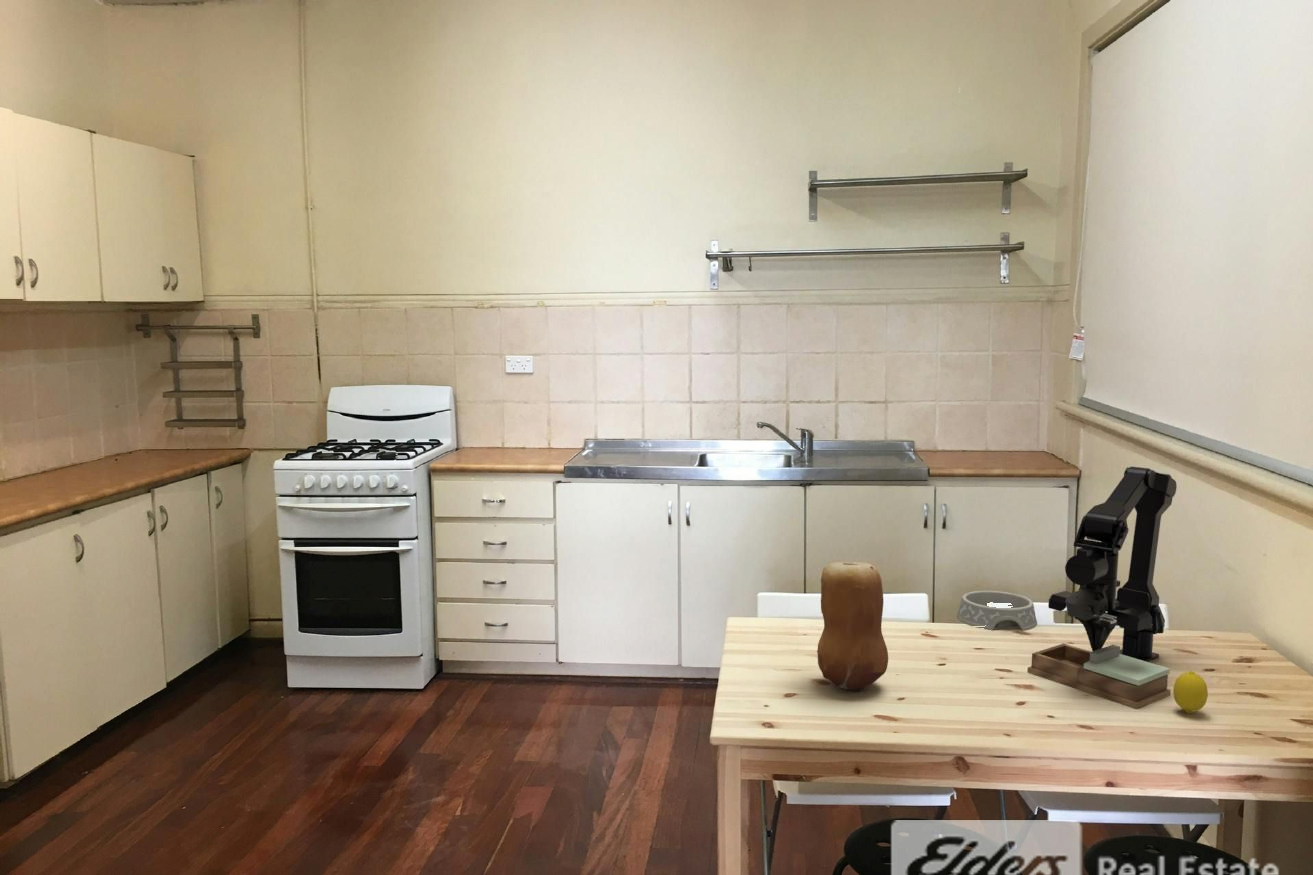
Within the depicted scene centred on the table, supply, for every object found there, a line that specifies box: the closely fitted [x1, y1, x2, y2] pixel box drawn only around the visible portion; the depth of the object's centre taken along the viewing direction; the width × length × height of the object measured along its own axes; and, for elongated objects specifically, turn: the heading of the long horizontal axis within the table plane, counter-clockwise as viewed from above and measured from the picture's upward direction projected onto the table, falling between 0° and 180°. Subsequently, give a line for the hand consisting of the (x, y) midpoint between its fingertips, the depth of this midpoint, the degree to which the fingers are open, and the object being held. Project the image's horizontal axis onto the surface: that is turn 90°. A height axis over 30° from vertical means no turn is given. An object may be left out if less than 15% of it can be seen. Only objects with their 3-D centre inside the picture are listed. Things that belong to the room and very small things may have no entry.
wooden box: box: [1027, 643, 1172, 710], centre depth 196 cm, size 23×12×4 cm, turn 35°
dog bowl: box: [956, 590, 1038, 632], centre depth 237 cm, size 17×18×5 cm
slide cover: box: [1084, 644, 1171, 686], centre depth 191 cm, size 11×11×3 cm
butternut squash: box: [816, 561, 889, 692], centre depth 192 cm, size 14×13×25 cm
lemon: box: [1172, 670, 1209, 714], centre depth 182 cm, size 6×6×8 cm
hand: (1096, 652), depth 196 cm, fingers closed
